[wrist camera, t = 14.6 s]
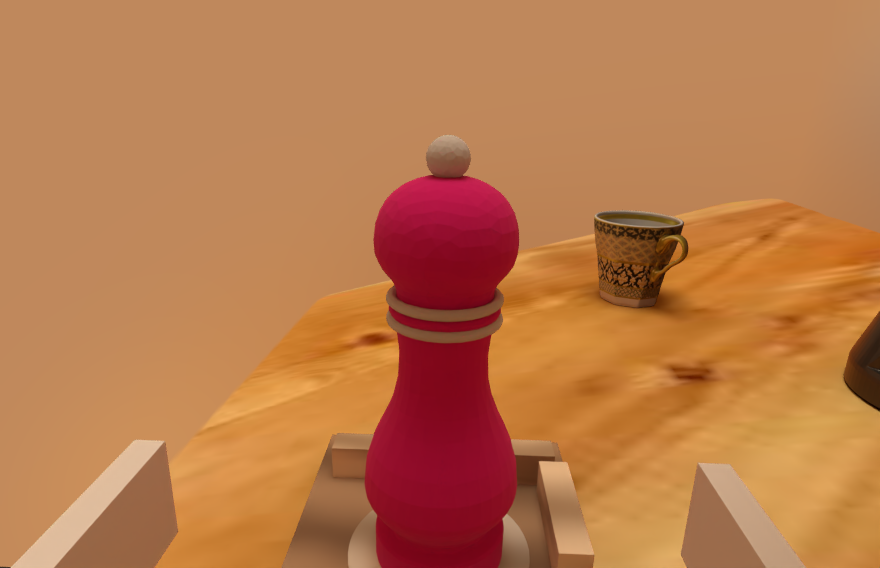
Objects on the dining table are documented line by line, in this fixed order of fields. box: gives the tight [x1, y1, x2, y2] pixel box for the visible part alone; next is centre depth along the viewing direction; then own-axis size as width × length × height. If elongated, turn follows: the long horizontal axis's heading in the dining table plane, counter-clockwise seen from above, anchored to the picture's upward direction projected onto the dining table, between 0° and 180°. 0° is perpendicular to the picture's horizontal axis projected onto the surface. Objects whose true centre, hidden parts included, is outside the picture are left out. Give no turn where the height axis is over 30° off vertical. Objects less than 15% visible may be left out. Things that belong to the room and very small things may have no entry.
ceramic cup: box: [594, 211, 688, 308], centre depth 67 cm, size 13×10×10 cm
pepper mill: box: [365, 135, 519, 568], centre depth 26 cm, size 7×7×20 cm
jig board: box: [282, 433, 594, 568], centre depth 29 cm, size 20×15×3 cm
